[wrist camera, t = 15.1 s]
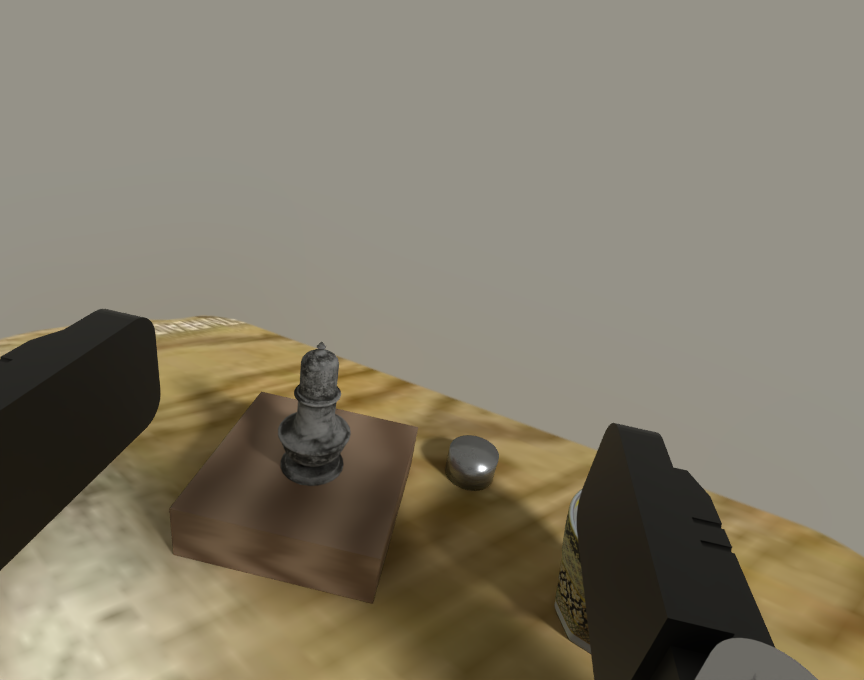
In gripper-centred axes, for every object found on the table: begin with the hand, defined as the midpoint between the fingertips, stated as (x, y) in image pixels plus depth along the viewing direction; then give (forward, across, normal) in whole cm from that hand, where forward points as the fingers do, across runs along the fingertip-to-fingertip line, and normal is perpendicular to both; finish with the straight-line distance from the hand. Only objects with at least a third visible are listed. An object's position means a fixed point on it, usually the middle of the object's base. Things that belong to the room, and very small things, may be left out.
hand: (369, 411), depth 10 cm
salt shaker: (+27, +9, +27) cm, 39 cm away
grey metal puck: (+36, -5, +32) cm, 49 cm away
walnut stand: (+27, +9, +32) cm, 43 cm away
